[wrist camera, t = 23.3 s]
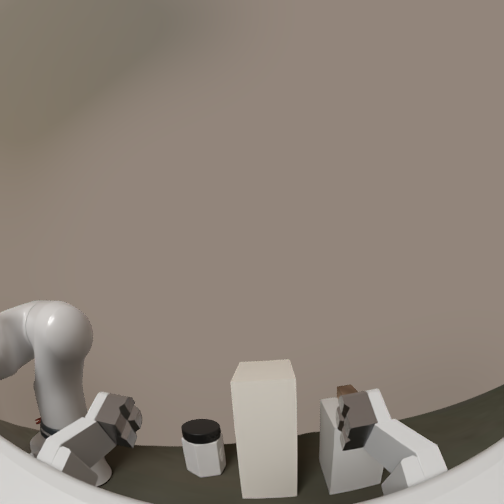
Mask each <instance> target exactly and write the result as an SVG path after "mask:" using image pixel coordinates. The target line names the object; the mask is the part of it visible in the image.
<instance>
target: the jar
mask: <svg viewBox="0 0 504 504" xmlns="http://www.w3.org/2000/svg"><path fill="white" fill-rule="evenodd" d="M182 434H183V437H182V438H181V440H182V445H183V451H184V456H185V461H186V465H187V469H188V470H189V471H190V472H192V473H194V474H195V475H197V476H199V477H208V476H215V475H221V474H222V472H223V470H224V468H225V466H226V459H225V451H224V443H223V436H222V433H221V430H220V425H219V424H218V423H217V422H215V421H213V420H208V419H196V420H191V421H188V422H186V423H184V424H183V425H182Z"/></svg>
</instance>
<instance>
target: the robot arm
mask: <svg viewBox="0 0 504 504" xmlns="http://www.w3.org/2000/svg"><path fill="white" fill-rule="evenodd" d="M92 342H93V331H92V327H91V324H90V321H89V320H88V318H87V317H86V315H85V314H84V313H83V312H82V311H80V310H79V309H77V308H76V307H74V306H73V305H71V304H68V303H67V302H63V301H42V300H36V301H32V302H29V303H26V304H23V305H20V306H17V307H14V308H11V309H8V310H5V311H3V312H0V380H2V379H4V378H7V377H9V376H12V375H14V374H15V373H16V372H17V371H18V369H19V368H21V367H22V366H23V365H25V364H26V363H28V362H29V361H31V360H32V359H34V358H35V381H34V391H35V396H36V400H37V404H38V408H39V412H40V416H41V418H38V419H36V421H37V420H39V421H38V422H37V423H36V424H39V423H40V432H39V433H38V434H37V435H36V436H34V437H33V438H32V440H31V441H30V448H31V451H32V452H31V453H30V454H28V453H26V452H25V451H23V450H21V449H20V448H18V447H17V446H15V445H14V444H12V443H11V442H9V441H8V440H6V439H5V438H3V437H2V436H1V435H0V504H153V503H148V502H144V501H140V500H137V499H133V498H129V497H126V496H123V495H119V494H116V493H113V492H110V491H107V490H104V489H102V488H99V487H97V486H99V485H102V484H104V483H105V482H106V481H108V480H109V478H110V477H111V474H112V471H111V468H110V466H109V465H108V463H107V462H106V460H105V457H104V456H105V455H106V454H107V453H109V452H110V451H111V450H112V449H113V448H114V447H115V446H116V445H120V446H125V447H130V448H133V447H134V444H135V441H136V438H137V435H136V431H137V430H139V429H140V427H141V424H142V415H141V412H140V410H139V409H138V408H137V407H136V406H134V404H135V402H134V400H133V398H132V397H126V396H121V395H116V394H111V393H106V392H100V393H98V395H97V396H96V398H95V400H94V402H93V403H92V405H91V407H90V409H89V411H88V413H87V408H86V404H85V398H84V393H83V385H82V377H83V366H84V359H85V357H86V355H87V354H88V353H89V351H90V349H91V346H92ZM338 402H339V406H338V407H337V409H336V424H337V429H338V430H339V431H341V435H340V442H341V447H342V451H347V450H352V449H358V448H363V447H364V448H363V449H365V450H366V451H367V452H368V453H369V454H370V455H371V456H372V457H373V458H374V459H376V460H377V461H378V462H379V463H380V464H381V465H382V466H383V467H384V468H386V469H387V470H388V471H389V472H390V473H391V474H390V475H389V476H388V478H387V479H386V480H385V481H384V482H383V484H382V485H381V486H382V490H383V494H384V496H381V497H378V498H374V499H371V500H367V501H363V502H359V503H355V504H504V438H502V439H501V440H499V441H498V442H496V443H495V444H493V445H492V446H490V447H489V448H487V449H486V450H484V451H482V452H481V453H479V454H477V455H476V456H474V457H472V458H471V459H469V460H467V461H465V462H463V463H462V464H460V465H458V466H456V467H454V468H452V469H450V470H447V467H446V465H445V462H444V460H443V458H442V455H441V453H440V451H439V448H438V446H437V445H436V444H434V443H433V442H431V441H429V440H428V439H426V438H425V437H423V436H421V435H420V434H418V433H417V432H415V431H413V430H412V429H410V428H409V427H407V426H406V425H404V424H402V423H401V422H399V421H398V420H396V419H391V417H390V414H389V412H388V409H387V407H386V404H385V402H384V400H383V397H382V395H381V393H380V390H379V389H373V390H368V391H361V392H356V393H351V394H346V395H340V397H339V400H338Z"/></svg>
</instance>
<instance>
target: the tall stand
mask: <svg viewBox="0 0 504 504" xmlns="http://www.w3.org/2000/svg"><path fill="white" fill-rule="evenodd" d="M231 394H232V405H233V416H234V426H235V435H236V446H237V455H238V464H239V472H240V481H241V489H242V496H243V498H279V497H292V496H297V400H296V378H295V375H294V372H293V369H292V366H291V363H290V360H289V359H286V360H272V361H256V362H255V361H254V362H240V363H239V365H238V367H237V370H236V371H235V374H234V376H233V378H232V380H231Z"/></svg>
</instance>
